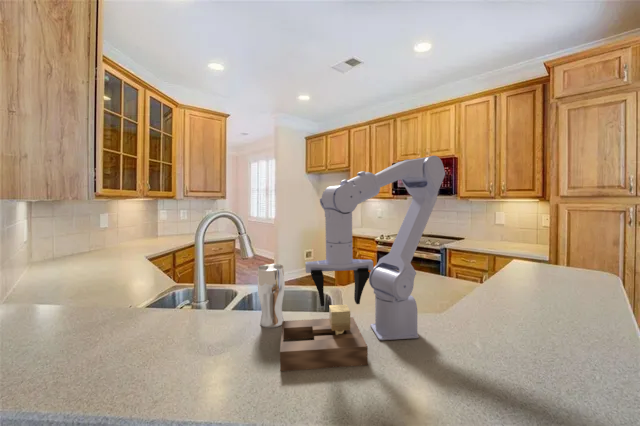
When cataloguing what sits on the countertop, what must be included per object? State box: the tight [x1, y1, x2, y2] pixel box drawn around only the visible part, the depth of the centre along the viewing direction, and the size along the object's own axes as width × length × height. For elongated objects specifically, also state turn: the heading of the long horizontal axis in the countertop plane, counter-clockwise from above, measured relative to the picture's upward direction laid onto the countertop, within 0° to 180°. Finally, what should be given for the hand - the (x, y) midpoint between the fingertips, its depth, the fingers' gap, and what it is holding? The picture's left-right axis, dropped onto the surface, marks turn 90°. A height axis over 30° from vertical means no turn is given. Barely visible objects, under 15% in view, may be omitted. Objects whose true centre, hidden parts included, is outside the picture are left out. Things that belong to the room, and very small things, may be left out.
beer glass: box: [257, 263, 286, 329], centre depth 78 cm, size 7×7×15 cm
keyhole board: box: [279, 316, 369, 372], centre depth 64 cm, size 17×14×4 cm
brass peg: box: [328, 304, 351, 335], centre depth 65 cm, size 4×4×9 cm
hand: (339, 303), depth 65 cm, fingers open, 7 cm apart
